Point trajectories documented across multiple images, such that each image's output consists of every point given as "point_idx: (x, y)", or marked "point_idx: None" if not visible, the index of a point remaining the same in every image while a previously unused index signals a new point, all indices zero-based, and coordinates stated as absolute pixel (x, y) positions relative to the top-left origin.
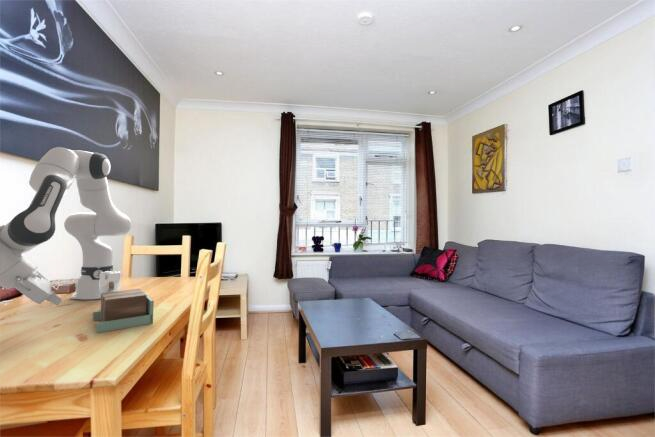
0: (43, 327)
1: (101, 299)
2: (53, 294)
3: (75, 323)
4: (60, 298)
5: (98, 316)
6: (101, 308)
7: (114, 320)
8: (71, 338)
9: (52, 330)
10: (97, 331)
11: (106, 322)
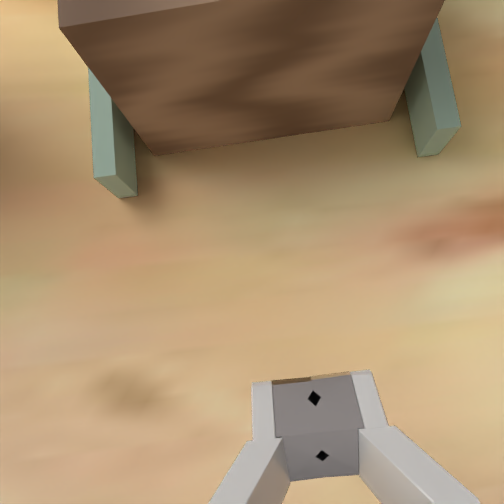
0: (134, 474)
1: (124, 61)
2: (259, 499)
3: (144, 291)
4: (278, 394)
5: (127, 157)
6: (175, 101)
7: (432, 30)
8: (488, 279)
9: (243, 409)
10: (439, 148)
11: (448, 76)
